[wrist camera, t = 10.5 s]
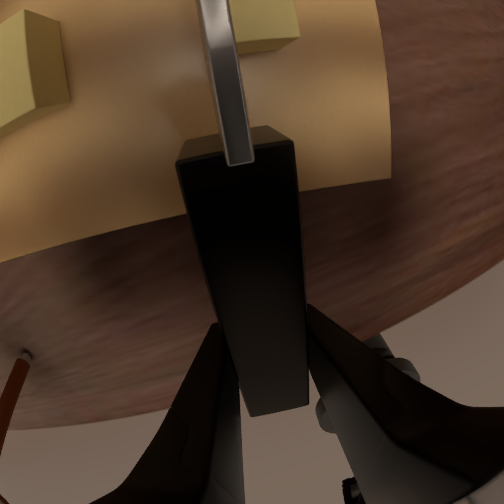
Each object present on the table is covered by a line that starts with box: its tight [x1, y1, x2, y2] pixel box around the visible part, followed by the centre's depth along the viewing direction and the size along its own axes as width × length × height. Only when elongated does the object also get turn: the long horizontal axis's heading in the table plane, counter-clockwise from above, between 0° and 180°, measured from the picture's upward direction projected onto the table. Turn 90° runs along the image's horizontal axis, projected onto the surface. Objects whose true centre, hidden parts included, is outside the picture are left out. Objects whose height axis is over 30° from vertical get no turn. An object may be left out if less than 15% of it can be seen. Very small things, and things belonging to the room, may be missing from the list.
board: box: [0, 0, 391, 263], centre depth 10 cm, size 14×22×1 cm, turn 99°
